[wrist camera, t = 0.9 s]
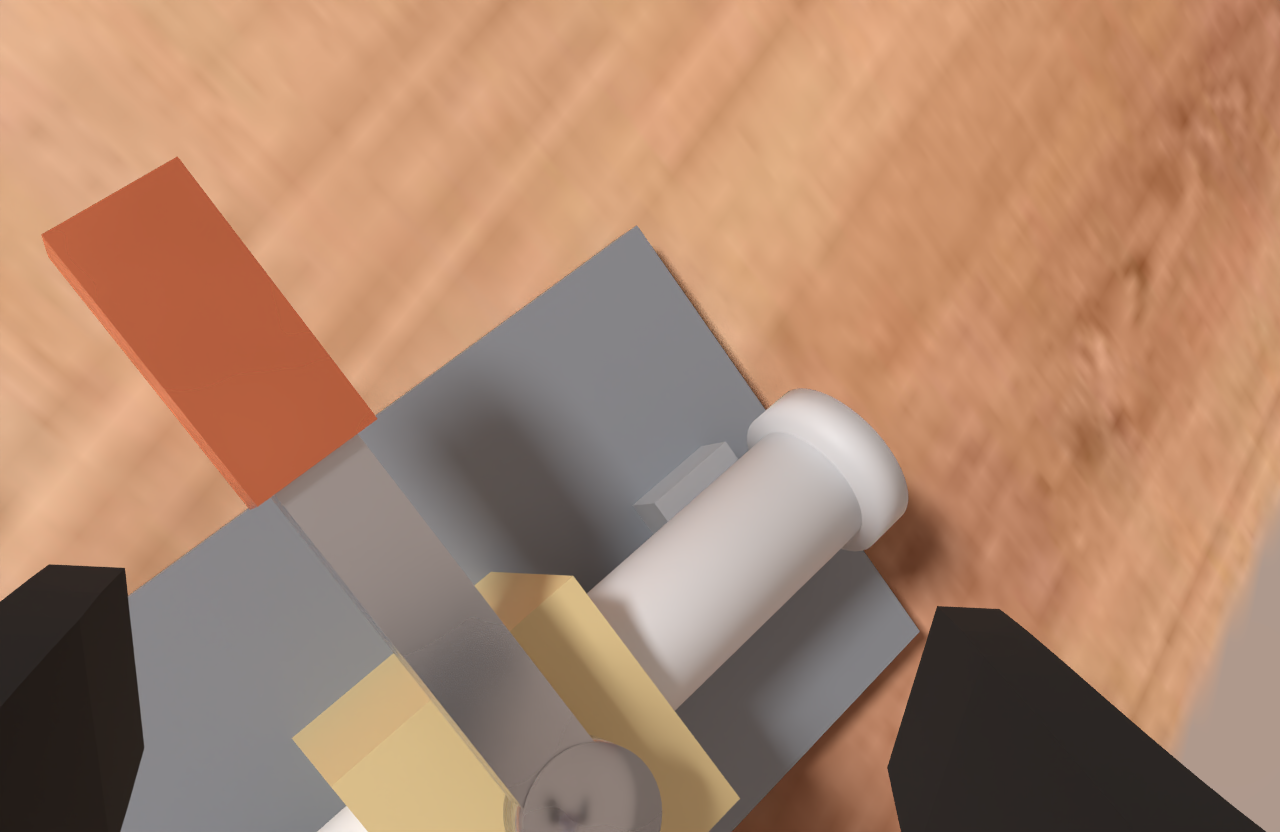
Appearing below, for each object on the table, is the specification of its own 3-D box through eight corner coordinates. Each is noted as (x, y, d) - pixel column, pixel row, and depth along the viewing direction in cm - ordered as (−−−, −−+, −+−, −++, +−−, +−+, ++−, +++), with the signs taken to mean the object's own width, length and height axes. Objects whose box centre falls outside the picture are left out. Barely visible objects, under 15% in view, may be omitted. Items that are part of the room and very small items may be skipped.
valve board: (218, 1338, 21) (249, 1664, 15) (-232, 858, 19) (-410, 1002, 13) (895, 629, 29) (1101, 649, 23) (620, 236, 27) (763, 141, 21)
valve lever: (661, 807, 18) (694, 823, 17) (560, 910, 17) (588, 933, 16) (181, 179, 16) (183, 152, 15) (41, 260, 16) (34, 238, 14)
